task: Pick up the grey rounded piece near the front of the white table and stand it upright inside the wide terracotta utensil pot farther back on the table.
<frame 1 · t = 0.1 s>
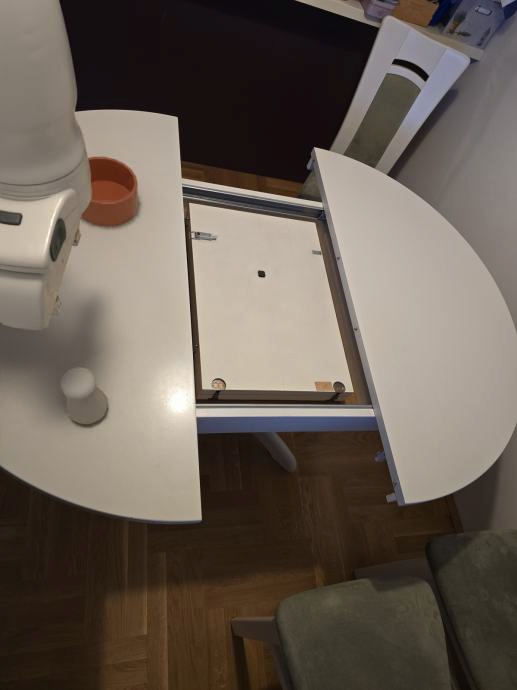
hand: (62, 273, 44), 24 cm above the table, tool pointing down, fingers open, 8 cm apart
pot: (106, 202, 79), on the table
grey rounded piece: (89, 409, 61), on the table
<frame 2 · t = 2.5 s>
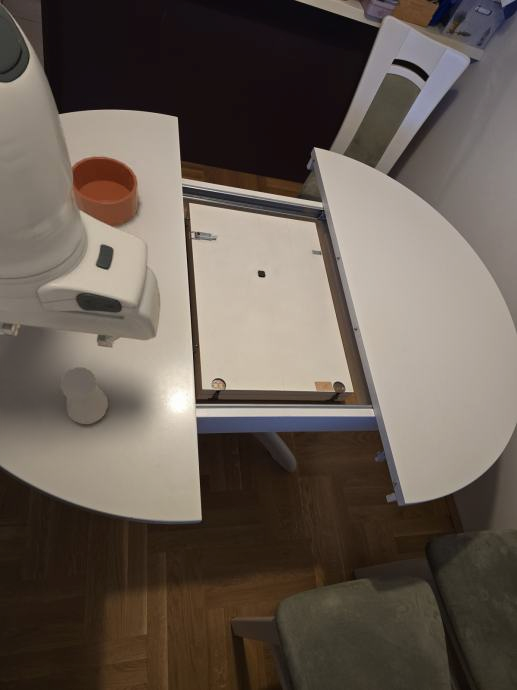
hand: (60, 335, 41), 23 cm above the table, tool pointing down, fingers open, 8 cm apart
nothing on the table moved.
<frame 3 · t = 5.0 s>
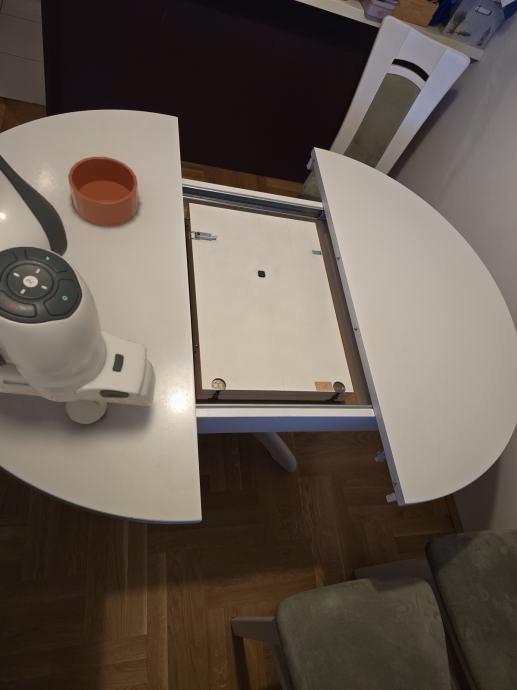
hand: (82, 398, 56), 6 cm above the table, tool pointing down, fingers closed on grey rounded piece, 3 cm apart
grey rounded piece: (89, 409, 61), on the table, touching gripper
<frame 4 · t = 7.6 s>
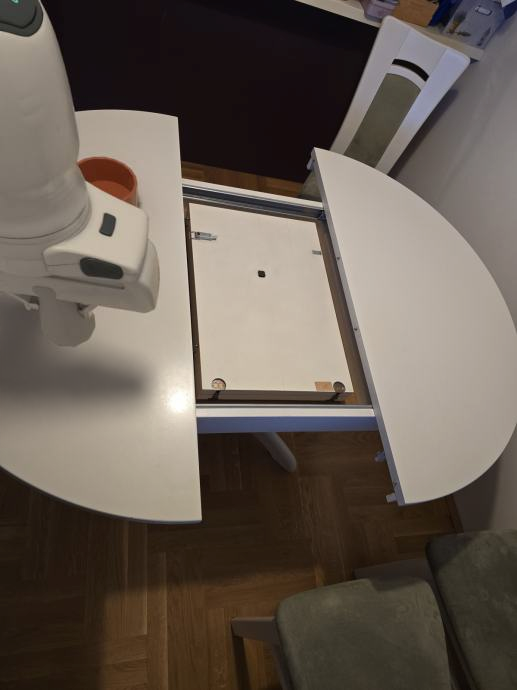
hand: (61, 308, 42), 24 cm above the table, tool pointing down, fingers closed on grey rounded piece, 3 cm apart
grey rounded piece: (73, 333, 47), point 18 cm above the table, touching gripper
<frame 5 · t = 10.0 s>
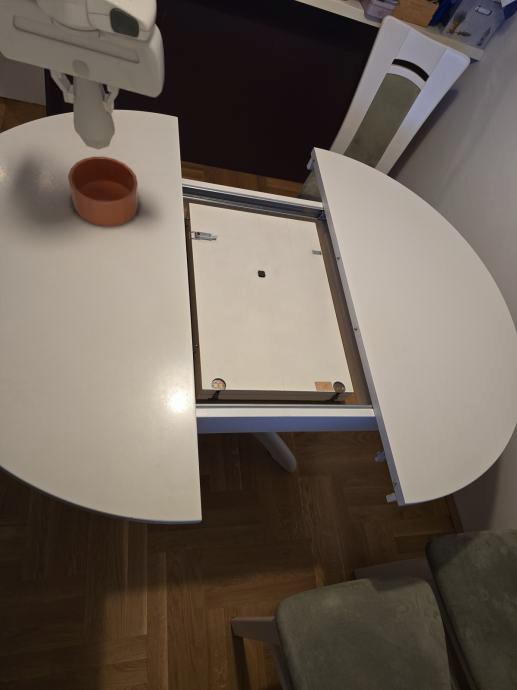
hand: (90, 105, 56), 24 cm above the table, tool pointing down, fingers closed on grey rounded piece, 3 cm apart
grey rounded piece: (97, 141, 61), point 18 cm above the table, touching gripper
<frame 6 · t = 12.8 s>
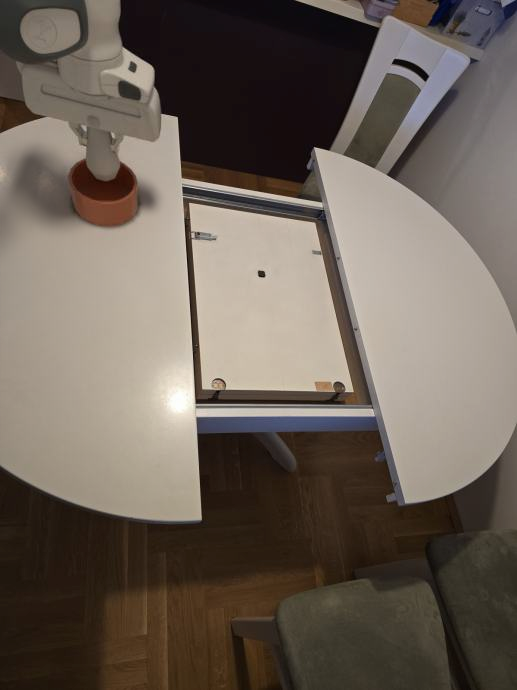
hand: (100, 147, 68), 13 cm above the table, tool pointing down, fingers closed on grey rounded piece, 3 cm apart
grey rounded piece: (105, 174, 73), point 7 cm above the table, touching gripper
when the fingers open (6 cm above the table, at t = 14.8 s): grey rounded piece stays where it is, resting on pot.
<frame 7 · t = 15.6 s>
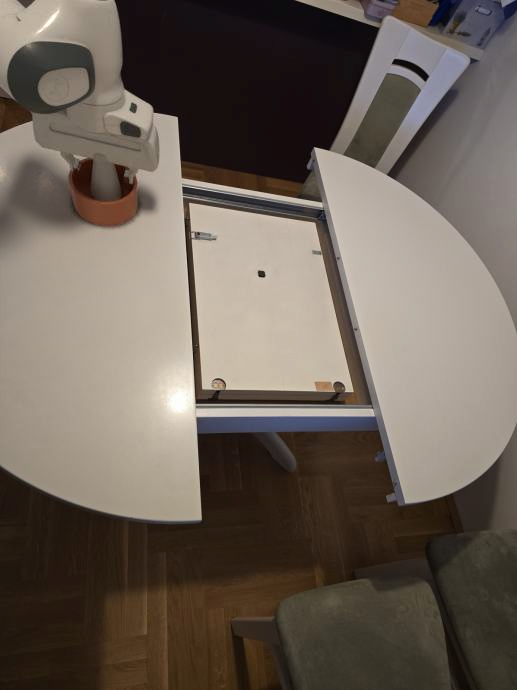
hand: (102, 175, 73), 7 cm above the table, tool pointing down, fingers open, 8 cm apart
grey rounded piece: (107, 202, 79), resting on pot
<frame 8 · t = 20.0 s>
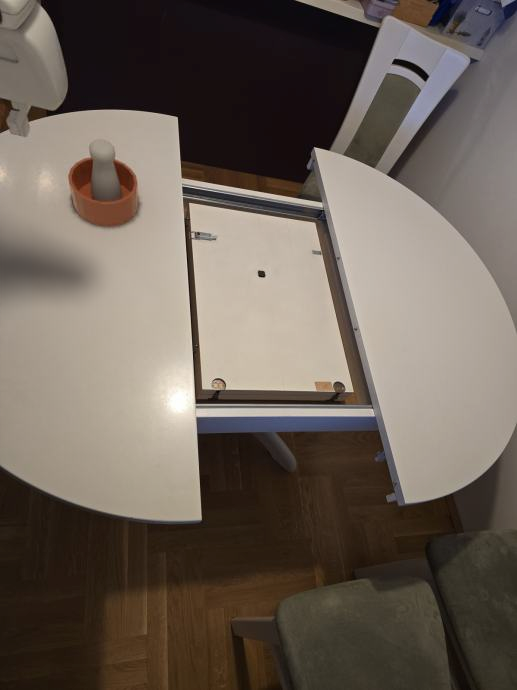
nothing on the table moved.
at the end: grey rounded piece 0.3 cm off-centre in the pot, point 0.4 cm above the pot's base; grey rounded piece tilted 0° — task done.
